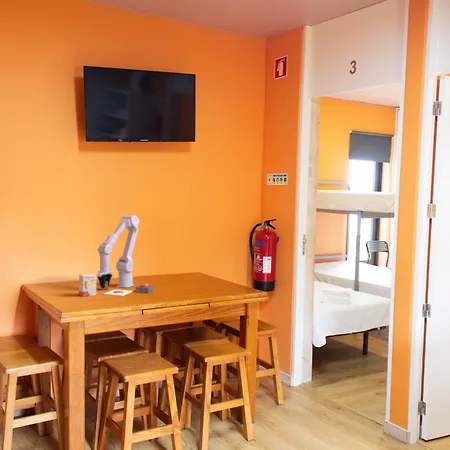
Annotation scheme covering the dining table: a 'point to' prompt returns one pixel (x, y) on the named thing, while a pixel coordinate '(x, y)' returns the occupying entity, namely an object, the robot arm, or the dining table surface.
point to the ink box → (87, 285)
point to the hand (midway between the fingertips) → (104, 287)
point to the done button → (144, 285)
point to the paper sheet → (118, 292)
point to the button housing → (144, 289)
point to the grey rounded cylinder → (105, 286)
